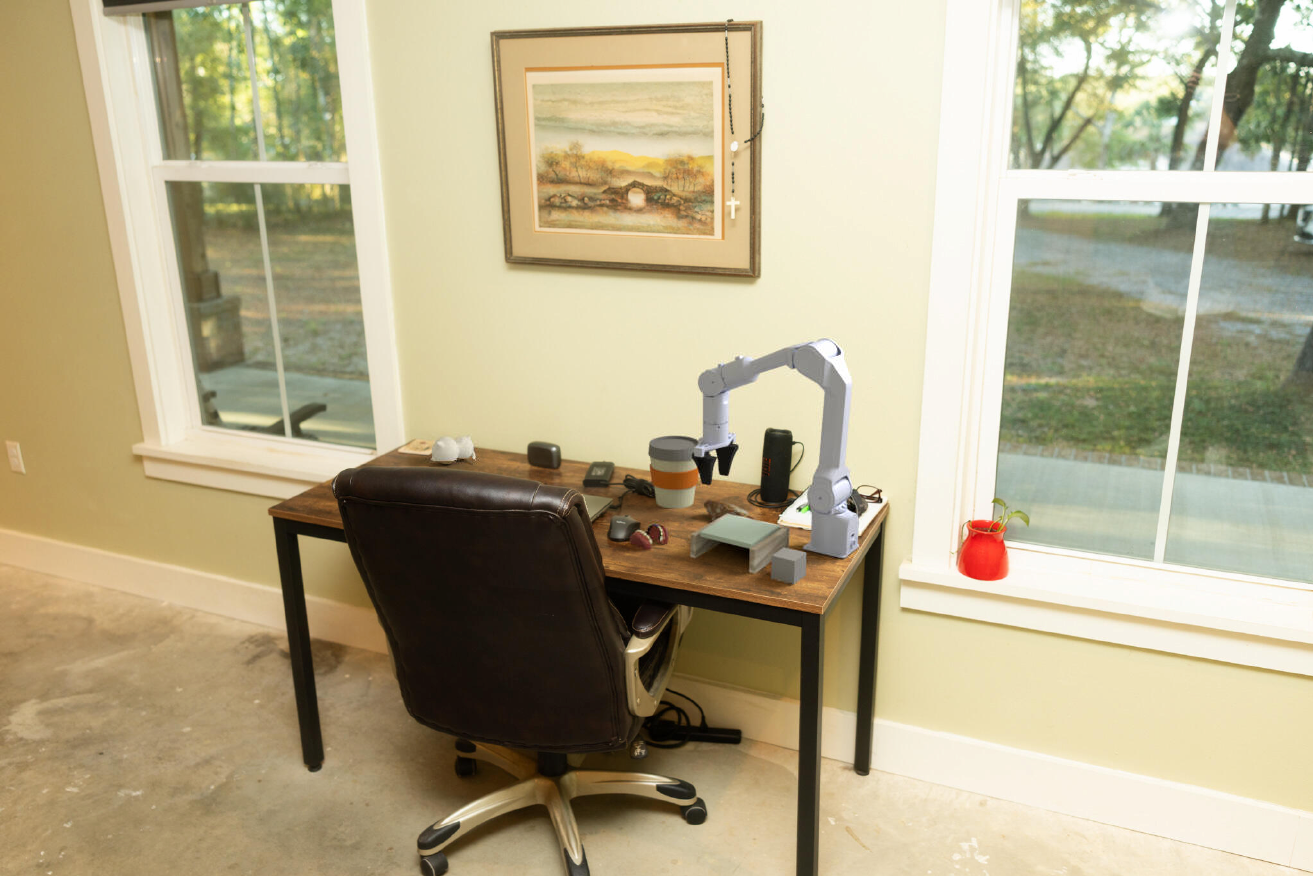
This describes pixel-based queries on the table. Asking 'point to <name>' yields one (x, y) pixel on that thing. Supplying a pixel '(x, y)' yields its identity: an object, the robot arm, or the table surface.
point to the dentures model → (649, 536)
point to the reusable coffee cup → (673, 470)
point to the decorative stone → (723, 509)
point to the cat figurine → (452, 448)
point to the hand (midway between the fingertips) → (715, 479)
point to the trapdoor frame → (758, 553)
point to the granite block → (788, 565)
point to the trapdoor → (739, 531)
